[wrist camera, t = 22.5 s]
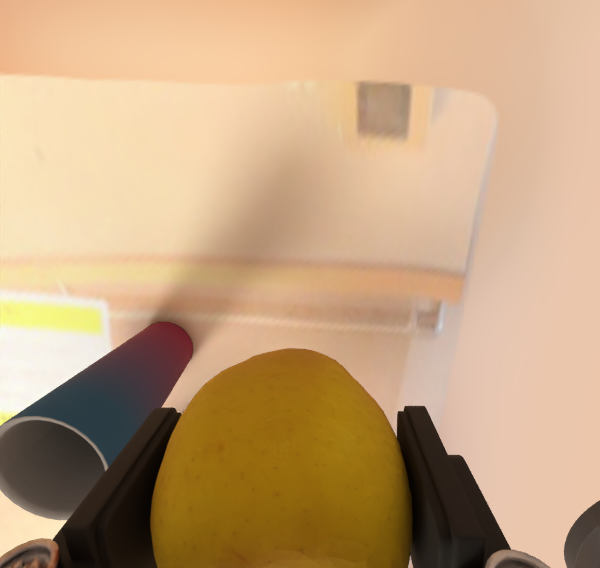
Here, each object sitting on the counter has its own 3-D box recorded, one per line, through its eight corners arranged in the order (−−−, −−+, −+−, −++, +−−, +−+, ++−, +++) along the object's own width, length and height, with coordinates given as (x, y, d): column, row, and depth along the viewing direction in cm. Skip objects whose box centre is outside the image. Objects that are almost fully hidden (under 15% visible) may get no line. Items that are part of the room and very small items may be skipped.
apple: (185, 345, 13) (-14, 571, 5) (348, 289, 12) (392, 469, 4) (251, 479, 14) (170, 810, 7) (402, 439, 13) (507, 772, 6)
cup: (192, 307, 32) (86, 409, 17) (209, 373, 34) (126, 515, 19) (122, 318, 32) (-36, 423, 18) (143, 382, 34) (14, 525, 20)
